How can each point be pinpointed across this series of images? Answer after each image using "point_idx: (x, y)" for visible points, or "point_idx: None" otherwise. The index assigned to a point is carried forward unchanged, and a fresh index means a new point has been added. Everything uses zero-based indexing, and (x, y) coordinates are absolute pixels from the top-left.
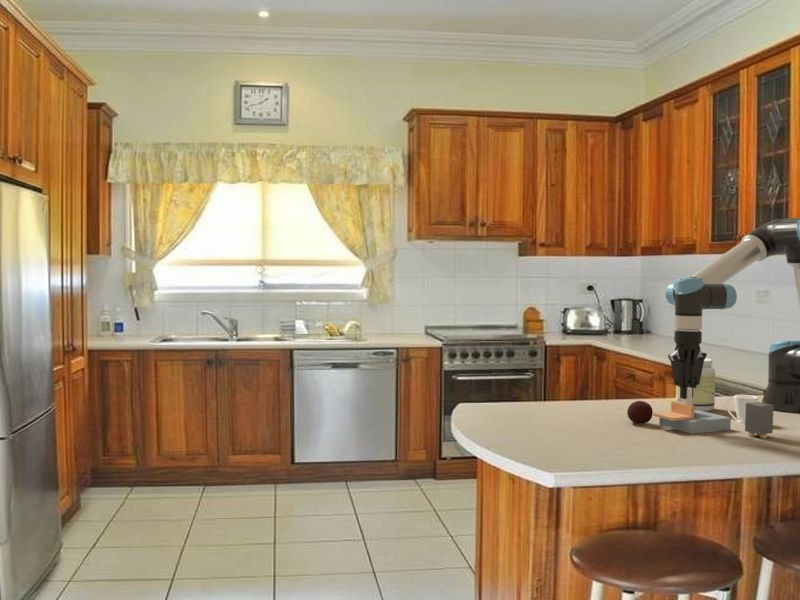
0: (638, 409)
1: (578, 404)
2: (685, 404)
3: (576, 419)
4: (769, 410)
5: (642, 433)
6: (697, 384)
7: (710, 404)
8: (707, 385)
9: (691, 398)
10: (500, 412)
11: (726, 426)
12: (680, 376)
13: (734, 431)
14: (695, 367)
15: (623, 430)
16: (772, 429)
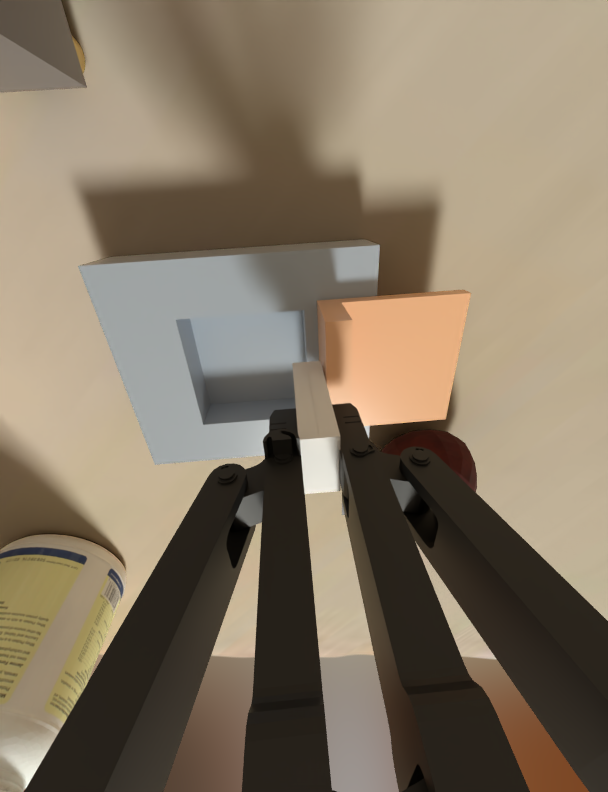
0: (472, 465)
1: (365, 636)
2: (344, 375)
3: (524, 529)
4: None
5: (541, 319)
6: (233, 466)
7: (12, 554)
8: None
9: (299, 395)
10: (601, 605)
11: (131, 256)
12: (480, 517)
13: (111, 212)
14: (190, 671)
15: (551, 382)
16: None
